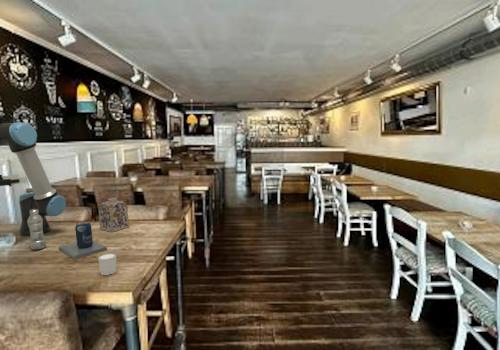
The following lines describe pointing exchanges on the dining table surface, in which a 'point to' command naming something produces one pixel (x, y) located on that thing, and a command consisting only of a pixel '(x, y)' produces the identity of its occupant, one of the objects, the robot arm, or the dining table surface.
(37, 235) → the plastic bottle
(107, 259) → the white short cylinder
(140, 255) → the dining table surface
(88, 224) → the soda can
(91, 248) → the slate board
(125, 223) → the decorative jar
